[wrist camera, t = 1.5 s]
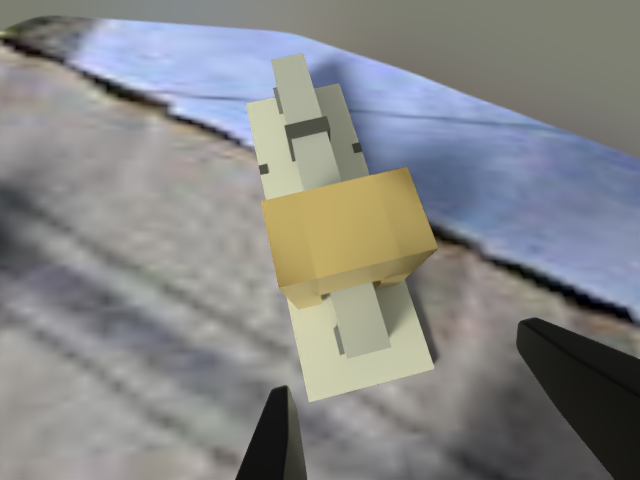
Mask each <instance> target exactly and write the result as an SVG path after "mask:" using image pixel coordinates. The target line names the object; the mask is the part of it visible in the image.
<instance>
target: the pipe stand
mask: <svg viewBox="0 0 640 480" xmlns="http://www.w3.org/2000/svg"><path fill="white" fill-rule="evenodd" d="M271 62H272V67H273V71H274V76H275V81H276V86H277V87H276V88H273V89H274V94H275V97H273V98H269V99H264V100H260V101H255V102H251V103H246V107H247V112H248V117H249V122H250V126H251V131H252V136H253V140H254V145H255V150H256V154H257V159H258V164H259V169H260V174H261V178H262V183H263V187H264V192H265V197H266V200H268V199H272V198H277V197H281V196H285V195H289V194H293V193H298V192H302V191H306V190H310V189H315V188H319V187H323V186H327V185H332V184H336V183H340V182H344V181H348V180H353V179H357V178H361V177H365V176H370V174H369V171H368V168H367V165H366V162H365V159H364V156H363V153H362V149H361V146H360V143H359V141H358V138H357V135H356V132H355V129H354V126H353V123H352V120H351V117H350V114H349V111H348V108H347V105H346V102H345V99H344V96H343V93H342V90H341V87H340V84H339V83H336V84H332V85H327V86H323V87H318V88H314V87H313V84H312V81H311V77H310V74H309V71H308V67H307V64H306V61H305V57H304V54H303V53H301V54H297V55H292V56H287V57H283V58H278V59H274V60H271ZM287 300H288V305H289V310H290V315H291V319H292V324H293V329H294V333H295V338H296V343H297V348H298V352H299V357H300V362H301V366H302V371H303V376H304V380H305V385H306V390H307V395H308V399H309V402H312V401H316V400H319V399H323V398H327V397H331V396H334V395H338V394H342V393H346V392H349V391H353V390H357V389H361V388H364V387H368V386H372V385H376V384H379V383H383V382H387V381H391V380H394V379H398V378H402V377H406V376H409V375H413V374H417V373H421V372H424V371H428V370H432V369H435V368H434V365H433V362H432V359H431V356H430V353H429V350H428V347H427V344H426V341H425V338H424V335H423V332H422V329H421V326H420V323H419V320H418V317H417V314H416V311H415V308H414V305H413V302H412V299H411V296H410V293H409V290H408V287H407V284H406V281H405V279H404V280H403V281H402V282H401V283H400V284H399V285H395V286H391V287H387V288H383V289H379V290H375V287H374V284H373V282H370V283H366V284H362V285H358V286H354V287H350V288H346V289H343V290H339V291H335V292H331V293H327V294H323V295H321V300H322V304H320V305H316V306H312V307H308V308H304V309H300V310H298V309H297V308H296V307H295V306H294V304H293V303H292V302H291V301H290V300H289V299H288V298H287Z"/></svg>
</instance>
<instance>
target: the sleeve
mask: <svg viewBox="0 0 640 480" xmlns="http://www.w3.org/2000/svg"><path fill="white" fill-rule="evenodd" d="M261 204H262V209H263V214H264V219H265V223H266V228H267V233H268V238H269V243H270V248H271V252H272V257H273V262H274V267H275V272H276V277H277V281H278V286H279V289H280V290H281V291H282V292H283V293H284V294H285V295H286V297H287V298H288V299H289V300H290V301H291V302H292V303H293V304H294V306H295V307H296V308H297V309H298V310H300V309H304V308H308V307H312V306H316V305H320V304H322V300H321V295H323V294H327V293H331V292H335V291H339V290H343V289H346V288H350V287H354V286H358V285H362V284H366V283H370V282H373V284H374V287H375V290H379V289H383V288H387V287H391V286H395V285H399V284H400V283H401V282H402V281H403V280H404V279H405V278H406V277H407V276H409V275H410V274H411V273H412V272H413V271H414V270H415V269H416V268H417V267H418V266H419V265H421V264H422V263H423V262H424V261H425V260H426V259H427V258H428V257H429V256H430V255H431V254H433V253H434V252H435V251H436V250H437V249H438V246H437V243H436V241H435V238H434V236H433V233H432V230H431V228H430V225H429V222H428V220H427V217H426V214H425V212H424V209H423V207H422V204H421V201H420V199H419V196H418V193H417V191H416V188H415V185H414V183H413V180H412V178H411V175H410V172H409V170H408V167H403V168H399V169H395V170H391V171H386V172H382V173H378V174H374V175H370V176H365V177H361V178H357V179H353V180H348V181H344V182H340V183H336V184H332V185H327V186H323V187H319V188H315V189H310V190H306V191H302V192H298V193H293V194H289V195H285V196H281V197H277V198H272V199H268V200H264V201H261Z"/></svg>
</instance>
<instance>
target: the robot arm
mask: <svg viewBox="0 0 640 480" xmlns="http://www.w3.org/2000/svg"><path fill="white" fill-rule="evenodd" d="M516 345H517V349H518V351H519V353H520V355H521V356H522V358H523V359H524V361H525V362H526V364H527V365H528V367H529V368H530V370H531V371H532V373H533V374H534V375H535V377H536V378H537V380H538V381H539V383H540V384H541V386H542V387H543V389H544V390H545V392H546V393H547V395H548V396H549V398H550V399H551V401H552V402H553V403H554V405H555V406H556V408H557V409H558V410H559V411H560V413H561V414H562V415H563V417H564V418H565V419H566V420H567V422H568V423H569V424H570V425H571V426H572V428H573V429H574V430H575V431H576V433H577V434H578V435H579V436H580V438H581V439H582V440H583V441H584V442H585V444H586V445H587V446H588V447H589V449H590V450H591V451H592V452H593V453H594V455H595V456H596V457H597V458H598V460H599V461H600V462H601V463H602V465H603V466H604V467H605V468H606V469H607V471H608V472H609V473H610V474H611V476H612V477H613V478H614V479H615V480H640V359H638V358H636V357H633V356H631V355H628V354H626V353H623V352H621V351H618V350H616V349H613V348H611V347H608V346H606V345H604V344H601V343H599V342H596V341H594V340H591V339H589V338H586V337H584V336H581V335H579V334H576V333H574V332H571V331H569V330H566V329H564V328H562V327H559V326H557V325H554V324H552V323H549V322H547V321H544V320H542V319H539V318H529V319H525V320H522V321H520V322H519V324H518V330H517V340H516ZM235 480H307V474H306V466H305V460H304V453H303V447H302V440H301V433H300V427H299V420H298V414H297V409H296V406H295V403H294V400H293V397H292V394H291V392H290V389H289V387H288V386H287V385H284V386H280V387H277V388H274V389H272V390H271V392H270V395H269V397H268V400H267V402H266V404H265V407H264V409H263V412H262V414H261V417H260V419H259V422H258V424H257V427H256V429H255V432H254V434H253V437H252V439H251V442H250V444H249V447H248V449H247V452H246V454H245V457H244V459H243V461H242V464H241V466H240V469H239V471H238V474H237V476H236V479H235Z"/></svg>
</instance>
